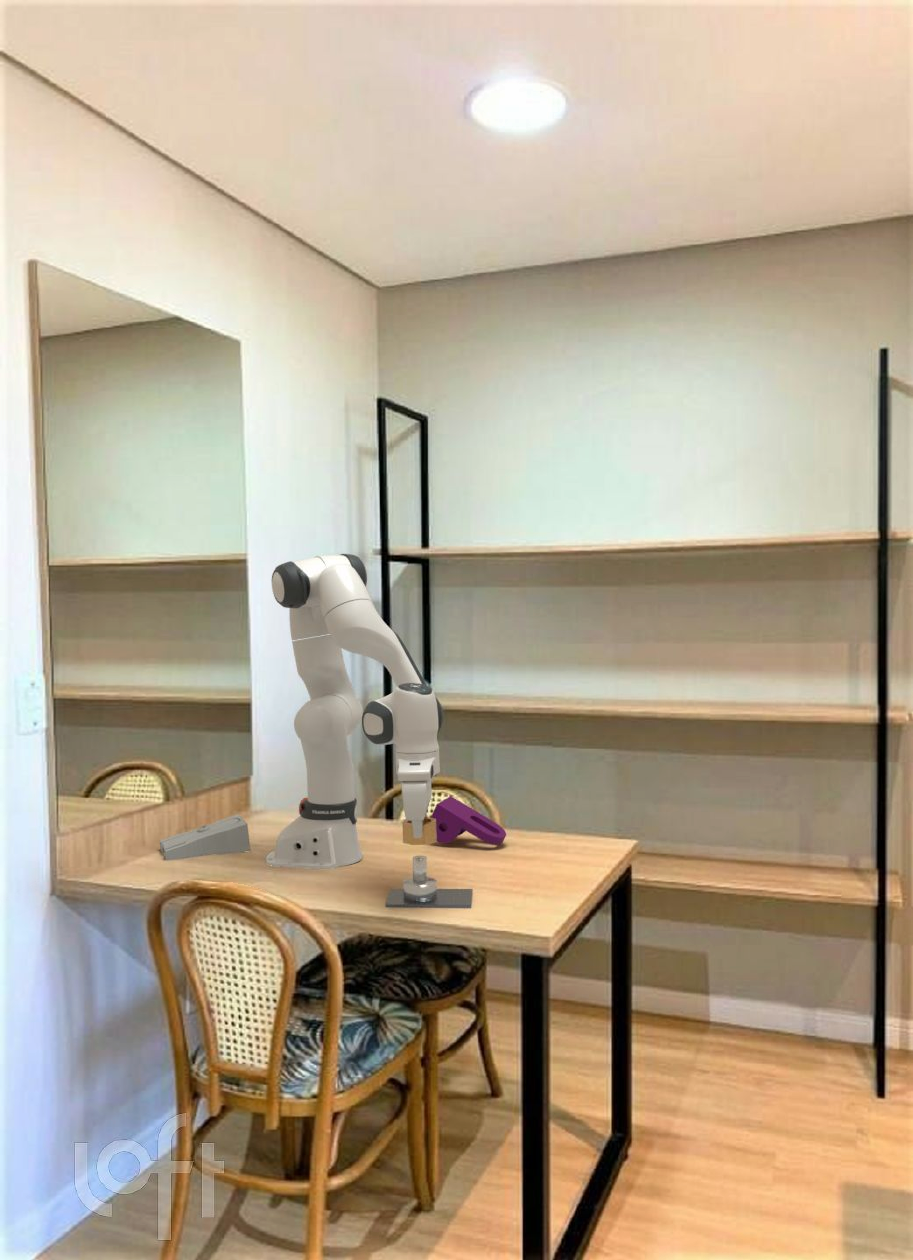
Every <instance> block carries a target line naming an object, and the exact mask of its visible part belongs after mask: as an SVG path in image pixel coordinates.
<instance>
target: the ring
mask: <svg viewBox="0 0 913 1260" xmlns="http://www.w3.org/2000/svg"><path fill="white" fill-rule="evenodd" d="M401 823H402V843H403V844H406V845H411V846H425V845H426V846H427V845H430V844H433V843H437V841H436V839H437V829H436V819H434V818H431V816H426V817H424V820H423V824H422V828H423V836H422V838H414V837H413V827H412V821H408V820H406V818H405V819H403V820H402V822H401Z"/></svg>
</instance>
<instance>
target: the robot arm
mask: <svg viewBox="0 0 913 1260" xmlns="http://www.w3.org/2000/svg"><path fill="white" fill-rule="evenodd" d="M367 584H368V574H367V569H366V566H365V564H364V562H363V560H362V559H361V558H360V557H359V556H357V555H354V554H350V553H340V554H328V555H316V556H314V557H309V558H304V559H300V560H296V561H287V562H283V563H281V564H279V565H277V566H276V567H275V569H274V570H273V572H272V575H271V589H272V594H273V597H274V599H275V601H276V602H277V603H278V604H279V605H280V606H281V607H283V608H284V609H289V611H288V612H289V628H290V629H289V630H290V638H291V643H292V649H293V654H294V659H295V666H296V671H297V675H298V676H299V678H300V679H301V681H303V684H304V685H305V687H306V691H307V693H308V695H309V698H310V700H308V701H306V702H305V703H304V704H303V705H302V706H301V707H300V709H299V710H298V711H297V712H296V714H295V716H294V719H293V727H294V731H295V734H296V736H297V738H298V739H299V740H300V743H301V747H302V751H303V755H304V760H305V765H306V784H307V785H306V786H307V791H306V792H307V797H303V798H302V799H301V800H300V803H299V804H298V805H299V806H298V813H299V814H298V815H299V816H298V817H297V818H295V819H294V821H292V822H290V824H288V825H287V826H286V827H284V829H282V830H281V831H280V832H279V834H278V835H277V839H276V843H275V847H274V848H275V849H274V850H272V851H270V852H269V853H268V854H267V856H266V857H265V864H266V863H267V864H268V865H272V866H271V867H274V866H285V867H284V868H289V867H294V868H293V869H304V868H317V869H316V870H320V869H329V870H332V869H331V868H333V869H336V868H339V867H344V866H349V865H352V864H355V863H358V862H360V861H361V860H362V859H363V857H364V856H363V854H362V850H361V846H360V842H359V837H358V830H357V829H358V828H357V821H358V804H357V803H358V802H357V797H356V796H355V795H356V793H355V791H356V790H355V786H356V785H355V766H354V763H353V761H352V759H351V757H350V753H349V752H350V751H349V748H348V747H349V746H348V741H347V739H348V738H347V736H349V735H351V734H352V733H353V732H355V731H356V729H357V728H358V727H359V725H360V723H361V728H362V731H363V733H364V736H365V737H366V739H368V741H370V742H371V743H373V744H374V745H381V746H387V745H392V744H394V745H395V773H396V774H397V781H398V782H400V787H401V796H402V804H403V805H402V806H403V812H404V818H405V819H406V820H408V821H412V827H413V837H414V838H422V836H423V828H422V824H423V820H424V817H427V813H428V812H427V811H428V809H429V805H430V802H431V800H432V793H433V791H432V782H434V781H435V776H436V775H437V774H439V773H440V772H441V767H440V765H441V764H440V746H439V743H438V742H439V741H438V735H439V732H440V731H441V730H442V727H443V724H444V720H445V719H444V718H445V713H444V708H443V706H442V703H441V702H440V701H439V699H438V698H437V697H436V695H435V691H434V689H433V688H432V687H430V686H429V685H428V684H427V683H426V681H425V679H424V677H423V675H422V674H421V672H420V670H419V668H418V667H417V665H416V663H415V661H414V659H413V657H412V655H411V654H410V652H409V651H408V649H407V647H406V645H405V643H404V642H403V640H402V639H401V637H400V636H399V634H398V633H397V632H396V631H394V630H393V629H392V628H390V626H389V625H387V623H386V622H385V621H384V620H383V619H382V617H381V615H380V614H379V613H378V611H377V610H376V607H375V605H374V602H373V600H372V598H371V594H370V593H369V591H368V589H367ZM343 650H345V651H347V652H349V653H352V654H357V655H361V656H363V657H366V658H370V659H372V660H375V661H377V662H379V663H380V664H382V666H384V667H385V668H386V669H387V671H388V672H389V675H390V676H391V677H392V680H393V681H394V683H395V685H396V687H395V689H394V690H393V692H391V693H390V694H388V695H385V696H383V697H380V698H377V699H375V700H371V701H370V702H368V703H367V704H366V706H365V707H364V709H363V706H362V703H361V701H360V700H359V698H357V696H356V694H355V691H354V687H353V685H352V683H351V679H350V677H349V674H348V671H347V668H346V665H345V659H344V655H343ZM267 864H266V865H267ZM268 865H267V866H268ZM296 867H297V868H296Z"/></svg>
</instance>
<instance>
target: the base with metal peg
mask: <svg viewBox="0 0 913 1260" xmlns="http://www.w3.org/2000/svg"><path fill="white" fill-rule="evenodd" d="M427 860H428V859H427V856H425V855H414V856H412V877H409V878H406V879H404V880H403V881H402V888H390V891H389V893H388V896H387V898H386V902H385V904H384V905H385V906H384V907H385V908H408V909H409V908H411V909H412V908H414V909H415V908H417V909H418V908H419V909H420V908H423V909H424V908H425V909H472V903H473V895H474V893H473V892H474V890H473V888H437V885H438V883H437V880H436V879H435V878H433V877H429V876H428V873H427V872H428V870H427V865H428V863H427Z"/></svg>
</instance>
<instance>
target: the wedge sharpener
mask: <svg viewBox="0 0 913 1260" xmlns="http://www.w3.org/2000/svg"><path fill="white" fill-rule="evenodd" d="M159 847H160V850H159V851H160V853H162V856H163V857H164V859H165V861H175V860H183V859H185V860H186V859H190V858H196V857H197V858H198V857H203V856H212V855H211V854H216V855H231V853H232V854H238V853H237V852H242V853H246V852H245V851H252V850H251V843H250V833H249V826H248V822H247V821H246V820H244V818H243V817H242V816H241V815H240V814H239V813H238V814H235V815H231V816H229V817H226V818H222V819H220V820H219V819H218V820H217V821H215V822H213V823H210V824H205V825H203V826H202V825H201V826H199V827H198V828H196V829H193V830H189V831H185V832H180V833H179V834H175V835H172V836H169V837H167V838H163V839H161V840H159Z"/></svg>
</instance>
